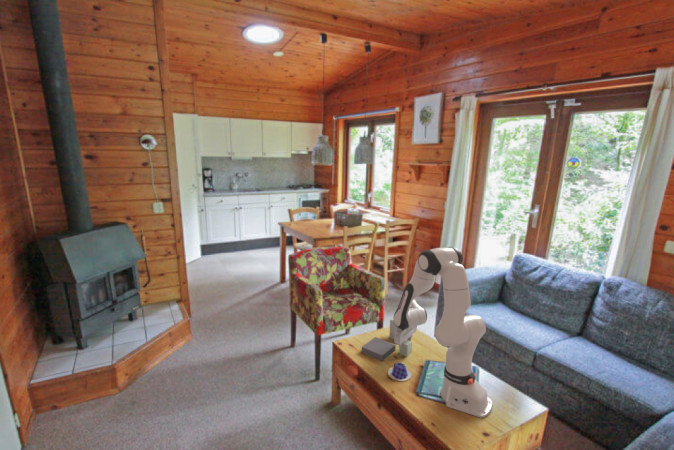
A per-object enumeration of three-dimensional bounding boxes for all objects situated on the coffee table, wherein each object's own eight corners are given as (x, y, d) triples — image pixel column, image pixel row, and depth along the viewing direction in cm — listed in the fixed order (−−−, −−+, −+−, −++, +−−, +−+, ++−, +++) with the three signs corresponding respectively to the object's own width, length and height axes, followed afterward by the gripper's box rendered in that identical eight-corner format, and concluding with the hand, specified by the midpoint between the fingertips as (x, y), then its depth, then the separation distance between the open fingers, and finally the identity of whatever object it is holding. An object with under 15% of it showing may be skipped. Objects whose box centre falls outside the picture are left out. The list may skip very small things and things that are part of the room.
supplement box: (398, 342, 208) (399, 323, 206) (389, 337, 214) (389, 319, 211) (406, 338, 213) (406, 319, 211) (396, 333, 219) (397, 315, 216)
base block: (395, 351, 200) (395, 344, 199) (382, 362, 190) (382, 355, 189) (375, 343, 209) (375, 337, 208) (361, 353, 198) (361, 346, 198)
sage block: (411, 352, 197) (411, 341, 196) (407, 356, 194) (407, 345, 192) (403, 349, 201) (404, 338, 199) (399, 353, 197) (399, 342, 195)
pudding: (416, 377, 176) (416, 368, 175) (397, 385, 170) (398, 375, 169) (401, 365, 186) (401, 356, 185) (383, 372, 181) (383, 363, 180)
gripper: (401, 331, 184) (400, 355, 187) (419, 317, 199) (418, 339, 202) (391, 328, 188) (390, 350, 191) (409, 314, 203) (408, 335, 206)
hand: (405, 344), depth 197 cm, fingers open, 8 cm apart
